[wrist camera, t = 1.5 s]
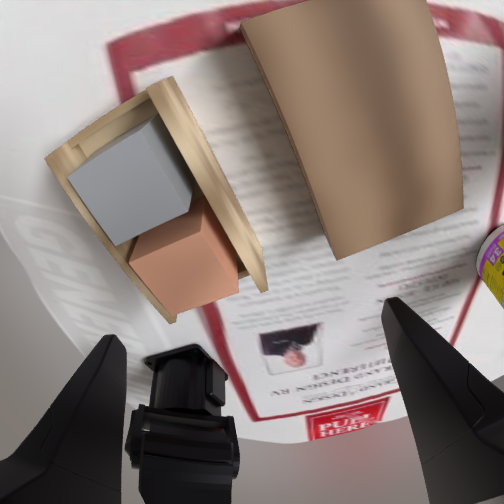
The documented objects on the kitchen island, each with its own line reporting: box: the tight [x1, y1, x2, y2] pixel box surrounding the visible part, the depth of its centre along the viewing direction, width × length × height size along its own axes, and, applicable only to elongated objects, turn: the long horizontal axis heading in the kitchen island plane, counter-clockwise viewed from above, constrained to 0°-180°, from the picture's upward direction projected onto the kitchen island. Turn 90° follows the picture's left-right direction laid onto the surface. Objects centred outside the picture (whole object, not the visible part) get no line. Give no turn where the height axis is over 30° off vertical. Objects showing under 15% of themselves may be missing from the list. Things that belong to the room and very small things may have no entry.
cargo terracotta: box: [129, 196, 239, 316], centre depth 18 cm, size 4×4×4 cm
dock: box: [239, 0, 464, 260], centre depth 16 cm, size 10×15×3 cm, turn 23°
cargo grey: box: [67, 113, 196, 246], centre depth 15 cm, size 4×4×4 cm
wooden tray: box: [44, 76, 268, 324], centre depth 18 cm, size 13×7×4 cm, turn 23°
